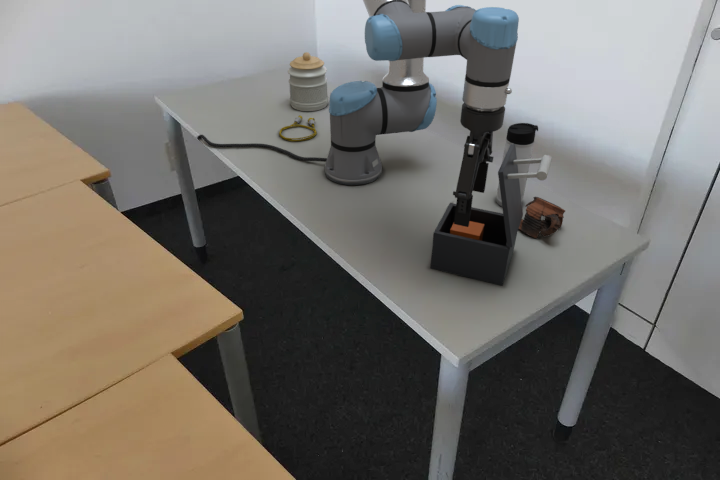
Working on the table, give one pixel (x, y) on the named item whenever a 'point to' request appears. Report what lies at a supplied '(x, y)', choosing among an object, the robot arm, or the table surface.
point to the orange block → (469, 230)
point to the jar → (308, 83)
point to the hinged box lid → (516, 188)
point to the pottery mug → (534, 214)
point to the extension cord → (298, 120)
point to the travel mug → (520, 150)
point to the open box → (473, 247)
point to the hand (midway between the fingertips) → (469, 207)
